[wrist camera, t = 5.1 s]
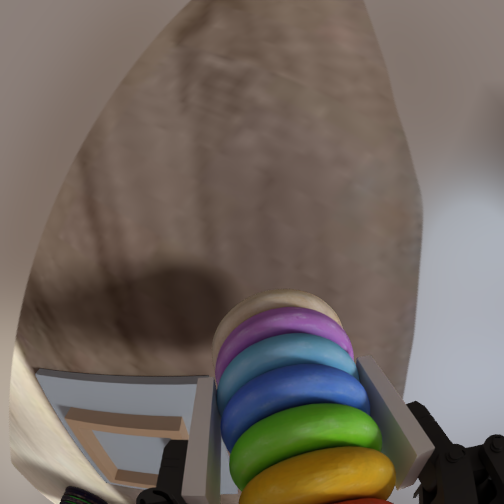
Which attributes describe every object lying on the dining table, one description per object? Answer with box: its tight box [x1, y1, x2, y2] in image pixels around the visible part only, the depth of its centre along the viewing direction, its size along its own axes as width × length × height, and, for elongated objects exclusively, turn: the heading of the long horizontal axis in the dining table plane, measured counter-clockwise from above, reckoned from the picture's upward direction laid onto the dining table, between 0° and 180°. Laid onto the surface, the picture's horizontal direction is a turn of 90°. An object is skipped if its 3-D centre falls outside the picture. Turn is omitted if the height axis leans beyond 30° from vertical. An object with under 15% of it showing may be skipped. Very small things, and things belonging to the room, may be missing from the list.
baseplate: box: [35, 369, 238, 494], centre depth 26 cm, size 22×20×3 cm
